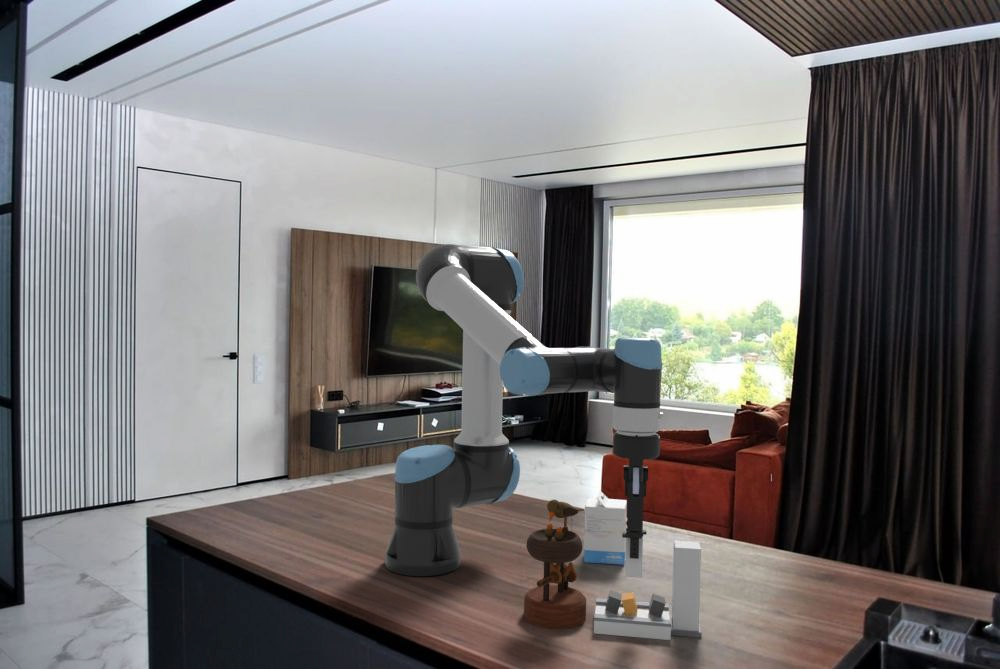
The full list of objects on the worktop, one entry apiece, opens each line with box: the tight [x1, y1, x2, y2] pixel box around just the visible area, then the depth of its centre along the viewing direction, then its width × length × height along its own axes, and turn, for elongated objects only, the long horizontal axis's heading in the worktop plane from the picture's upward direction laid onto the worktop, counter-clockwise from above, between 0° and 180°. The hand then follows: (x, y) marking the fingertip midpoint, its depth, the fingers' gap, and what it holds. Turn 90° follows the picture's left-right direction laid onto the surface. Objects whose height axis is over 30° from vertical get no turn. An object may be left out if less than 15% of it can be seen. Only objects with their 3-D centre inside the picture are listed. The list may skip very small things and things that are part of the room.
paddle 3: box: [649, 593, 666, 618], centre depth 125 cm, size 2×3×2 cm
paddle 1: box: [605, 590, 623, 614], centre depth 127 cm, size 2×3×2 cm
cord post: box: [670, 539, 703, 639], centre depth 124 cm, size 5×5×14 cm
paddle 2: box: [621, 591, 638, 615], centre depth 126 cm, size 2×3×2 cm
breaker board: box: [593, 597, 672, 641], centre depth 126 cm, size 12×9×2 cm
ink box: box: [583, 490, 628, 566], centre depth 161 cm, size 9×8×13 cm
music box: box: [523, 499, 587, 630], centre depth 128 cm, size 15×11×20 cm
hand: (633, 575), depth 126 cm, fingers closed
